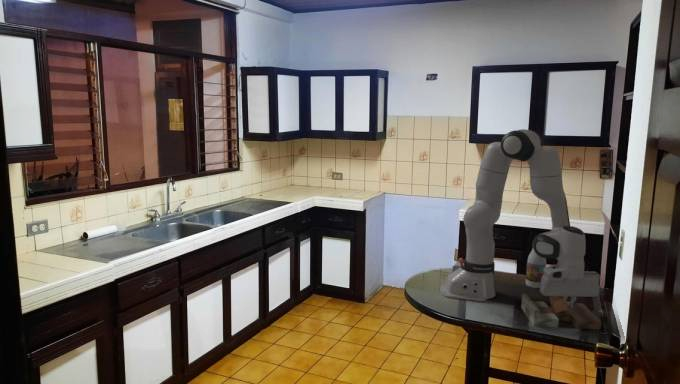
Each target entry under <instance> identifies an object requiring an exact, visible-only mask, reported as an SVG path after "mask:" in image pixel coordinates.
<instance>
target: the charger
mask: <svg viewBox="0 0 680 384" xmlns="http://www.w3.org/2000/svg"><path fill="white" fill-rule="evenodd" d="M460 267H461V263H459V260H457V261H456V262H455V263H454V265H452V271H451V273H452V272H454V271H456V270H457V269H459V268H460Z"/></svg>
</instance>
